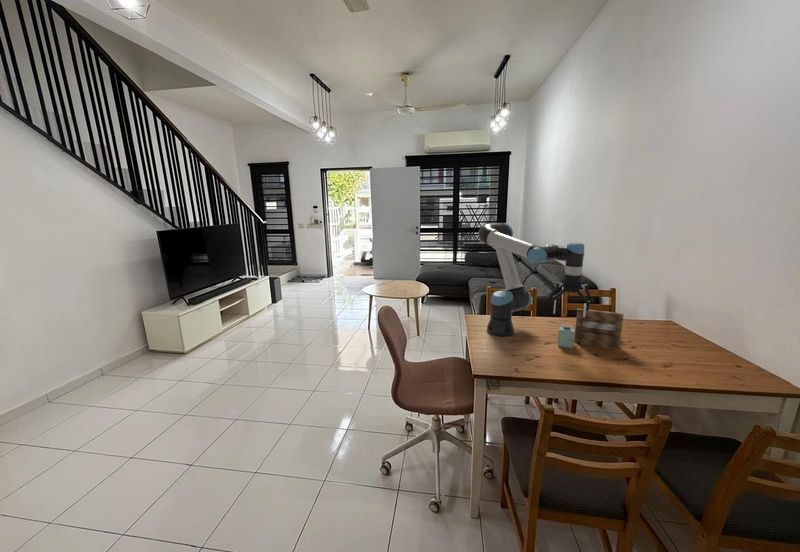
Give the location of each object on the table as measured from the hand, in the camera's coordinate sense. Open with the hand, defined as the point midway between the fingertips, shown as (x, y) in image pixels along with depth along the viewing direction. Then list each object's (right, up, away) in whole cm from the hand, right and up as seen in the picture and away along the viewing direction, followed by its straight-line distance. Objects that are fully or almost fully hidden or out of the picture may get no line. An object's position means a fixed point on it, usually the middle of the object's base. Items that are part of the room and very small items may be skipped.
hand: (568, 314), depth 162 cm
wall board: (+16, -16, +3) cm, 23 cm away
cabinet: (0, -16, +4) cm, 17 cm away
